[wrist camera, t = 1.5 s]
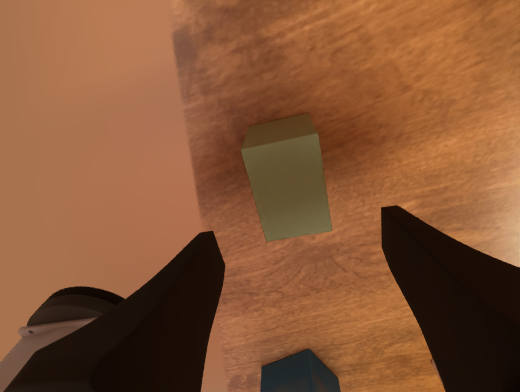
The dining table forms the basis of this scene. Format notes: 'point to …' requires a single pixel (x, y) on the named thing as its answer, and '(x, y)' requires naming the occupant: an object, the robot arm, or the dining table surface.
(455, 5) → the dining table surface
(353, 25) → the dining table surface
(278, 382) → the perfume bottle
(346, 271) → the dining table surface
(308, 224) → the olive boxy piece
